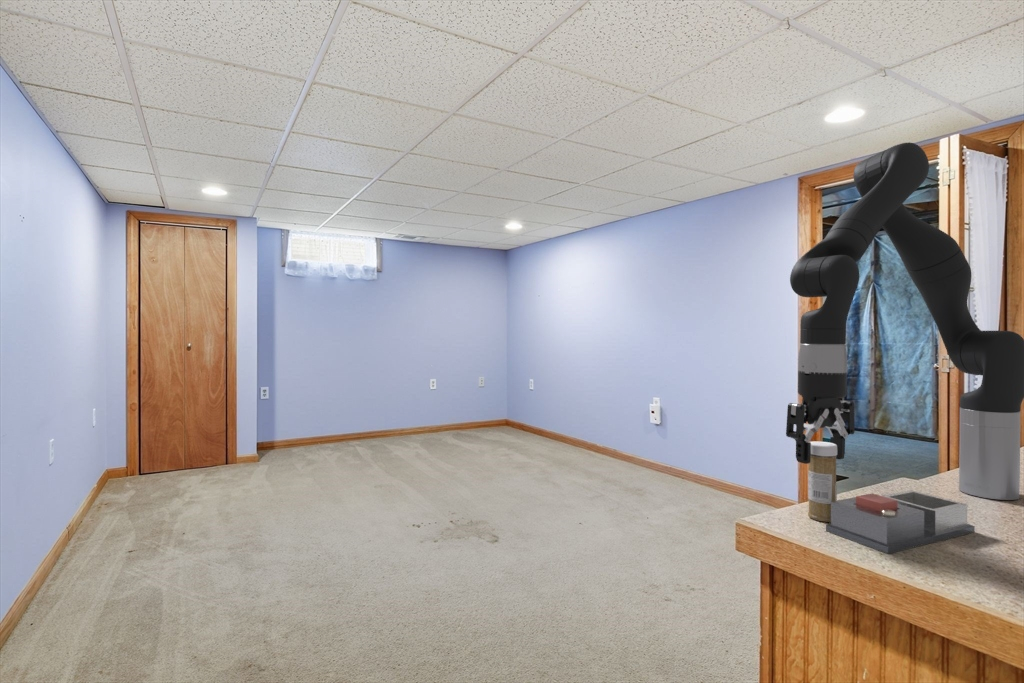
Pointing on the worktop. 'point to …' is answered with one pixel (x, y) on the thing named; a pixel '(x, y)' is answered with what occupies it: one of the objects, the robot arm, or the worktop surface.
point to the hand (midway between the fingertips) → (820, 460)
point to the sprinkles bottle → (822, 480)
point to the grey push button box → (900, 521)
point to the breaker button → (876, 502)
